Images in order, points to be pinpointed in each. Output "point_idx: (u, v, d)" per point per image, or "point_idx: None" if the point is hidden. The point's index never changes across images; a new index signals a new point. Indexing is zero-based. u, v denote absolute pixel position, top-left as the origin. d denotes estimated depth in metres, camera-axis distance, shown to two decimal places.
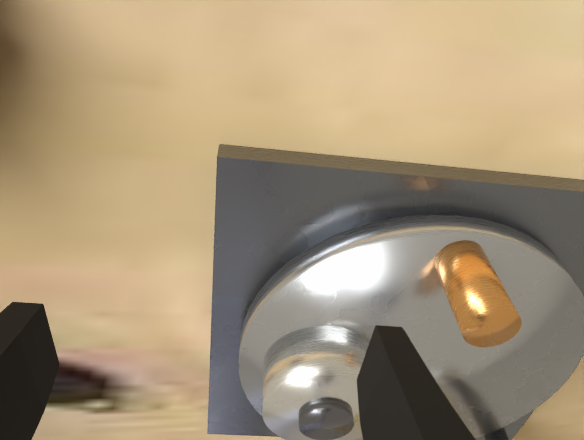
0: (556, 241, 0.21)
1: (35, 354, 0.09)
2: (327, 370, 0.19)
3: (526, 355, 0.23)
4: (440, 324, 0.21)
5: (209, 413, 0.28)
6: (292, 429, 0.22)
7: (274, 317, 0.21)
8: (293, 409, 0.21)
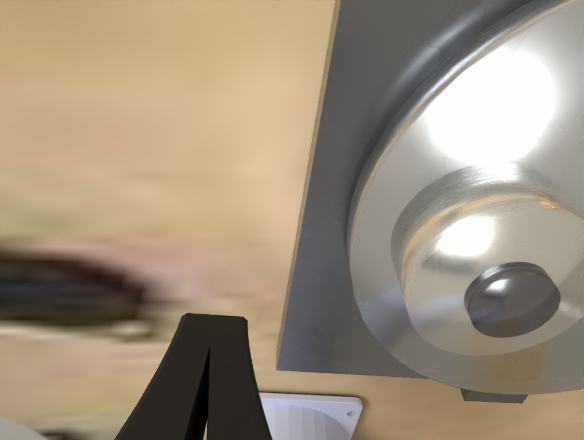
0: None
1: None
2: (532, 208, 0.12)
3: None
4: None
5: (283, 338, 0.21)
6: (446, 325, 0.14)
7: (427, 143, 0.13)
8: (460, 285, 0.13)
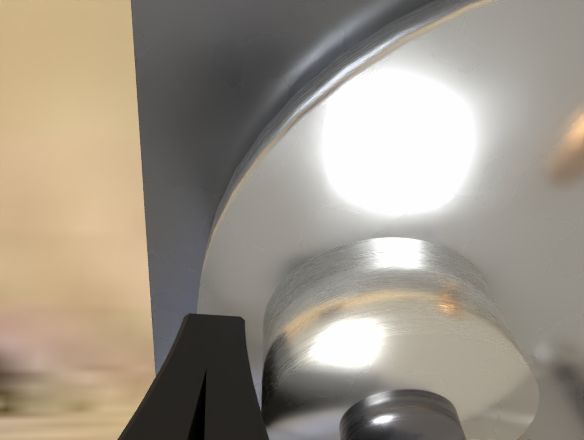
0: None
1: None
2: (416, 324, 0.08)
3: None
4: None
5: None
6: None
7: (268, 212, 0.10)
8: (329, 415, 0.09)
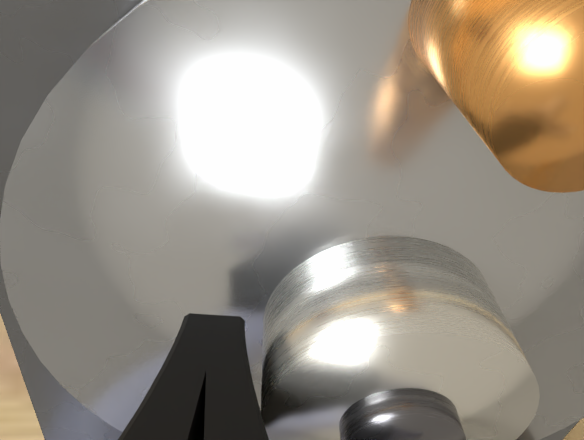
0: None
1: None
2: (412, 322, 0.08)
3: None
4: (429, 218, 0.10)
5: (38, 413, 0.17)
6: None
7: (47, 193, 0.09)
8: (329, 415, 0.09)
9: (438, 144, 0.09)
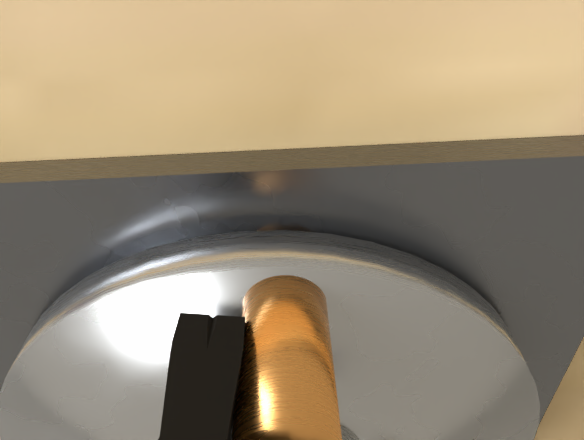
0: (447, 248, 0.12)
1: None
2: None
3: (447, 435, 0.15)
4: None
5: None
6: None
7: (26, 402, 0.13)
8: None
9: None
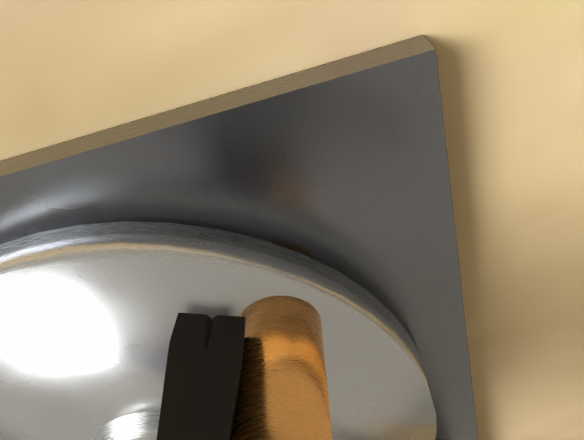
0: (245, 212, 0.12)
1: None
2: None
3: None
4: None
5: None
6: None
7: None
8: None
9: None
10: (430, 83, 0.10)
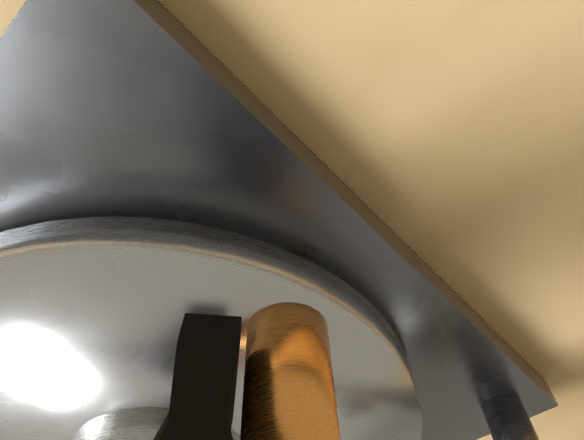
0: (54, 197, 0.11)
1: None
2: None
3: None
4: None
5: None
6: None
7: None
8: None
9: None
10: None
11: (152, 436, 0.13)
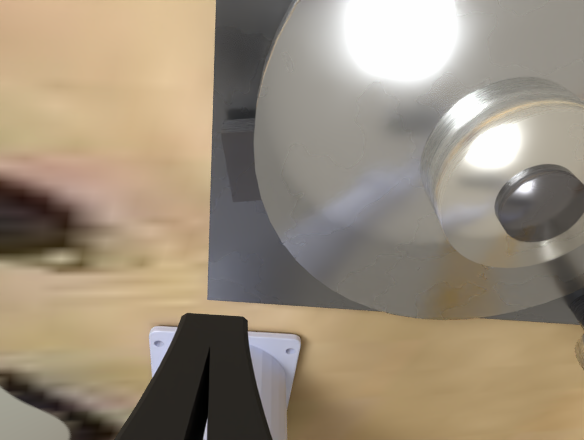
0: None
1: None
2: None
3: None
4: None
5: (210, 263, 0.21)
6: (492, 166, 0.13)
7: None
8: (552, 156, 0.13)
9: None
10: None
11: None
